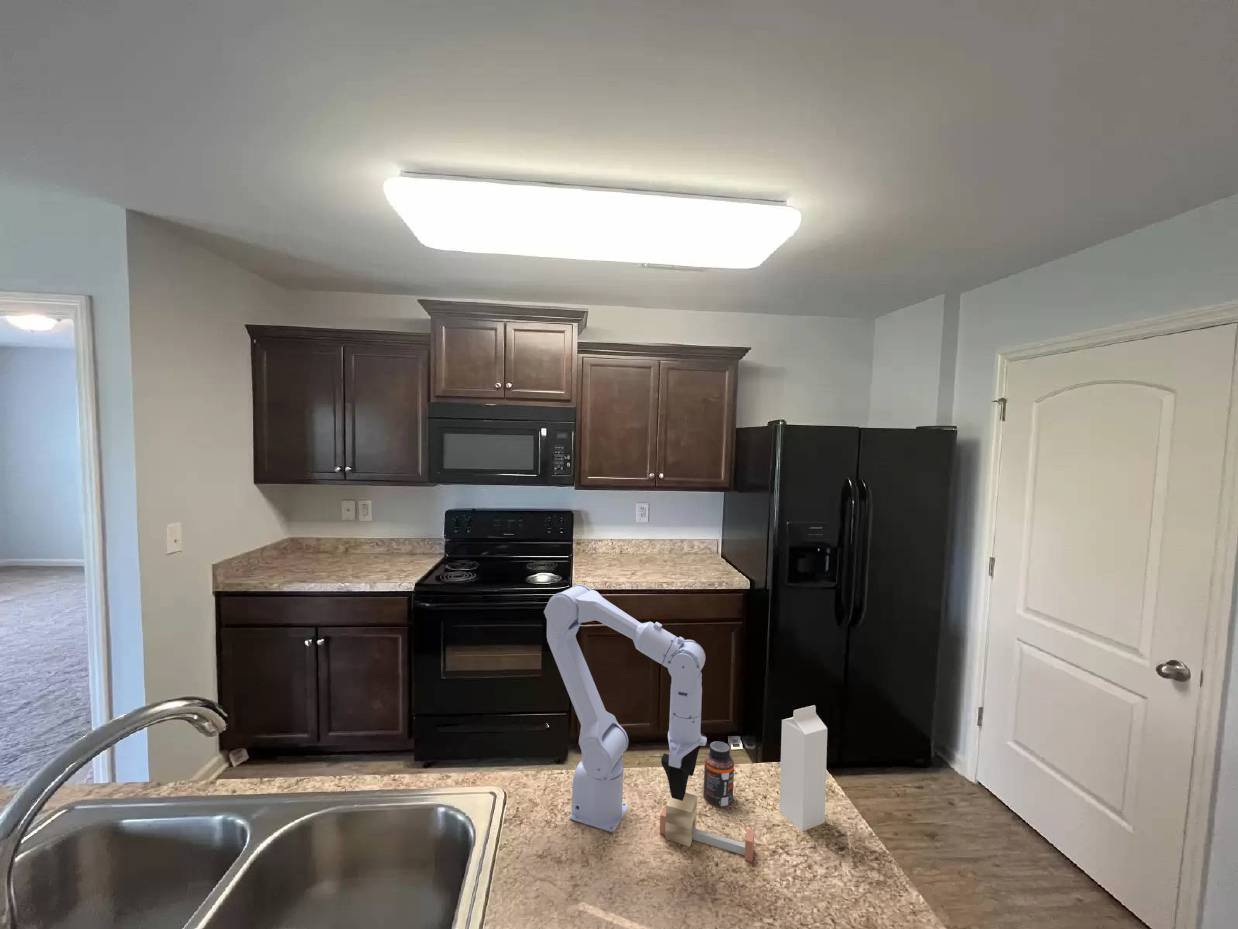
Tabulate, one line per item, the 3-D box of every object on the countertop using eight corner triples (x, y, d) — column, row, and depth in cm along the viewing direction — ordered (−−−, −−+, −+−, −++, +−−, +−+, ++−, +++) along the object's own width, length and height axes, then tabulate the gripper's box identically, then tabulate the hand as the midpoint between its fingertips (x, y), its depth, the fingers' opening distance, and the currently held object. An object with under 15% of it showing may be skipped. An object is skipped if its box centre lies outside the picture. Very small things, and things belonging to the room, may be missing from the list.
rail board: (653, 849, 87) (653, 825, 87) (666, 816, 96) (667, 795, 96) (751, 881, 81) (752, 855, 81) (756, 843, 89) (757, 820, 90)
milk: (778, 816, 97) (781, 703, 97) (801, 807, 100) (803, 698, 100) (802, 837, 91) (805, 717, 92) (825, 827, 94) (828, 711, 95)
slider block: (665, 839, 89) (666, 805, 89) (672, 821, 93) (673, 789, 93) (690, 846, 87) (691, 812, 87) (695, 828, 91) (697, 795, 92)
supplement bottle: (733, 814, 97) (735, 756, 97) (702, 809, 98) (704, 752, 98) (732, 795, 103) (734, 740, 103) (703, 790, 104) (705, 736, 104)
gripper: (698, 735, 82) (695, 817, 82) (714, 699, 96) (711, 769, 95) (658, 725, 85) (655, 805, 84) (678, 691, 98) (676, 760, 98)
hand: (682, 785), depth 90 cm, fingers open, 7 cm apart
